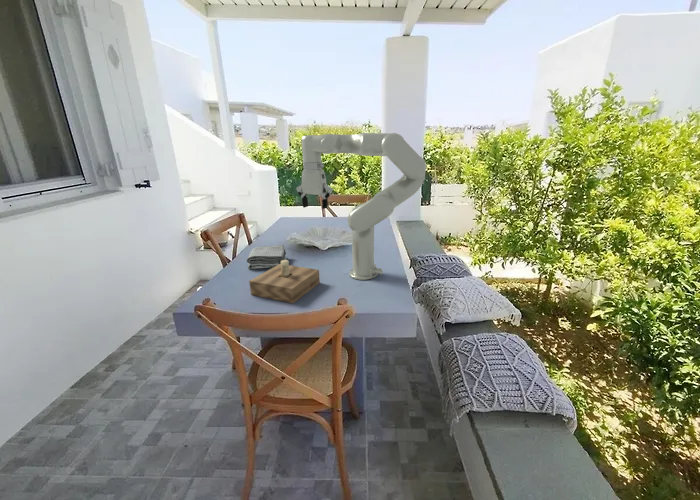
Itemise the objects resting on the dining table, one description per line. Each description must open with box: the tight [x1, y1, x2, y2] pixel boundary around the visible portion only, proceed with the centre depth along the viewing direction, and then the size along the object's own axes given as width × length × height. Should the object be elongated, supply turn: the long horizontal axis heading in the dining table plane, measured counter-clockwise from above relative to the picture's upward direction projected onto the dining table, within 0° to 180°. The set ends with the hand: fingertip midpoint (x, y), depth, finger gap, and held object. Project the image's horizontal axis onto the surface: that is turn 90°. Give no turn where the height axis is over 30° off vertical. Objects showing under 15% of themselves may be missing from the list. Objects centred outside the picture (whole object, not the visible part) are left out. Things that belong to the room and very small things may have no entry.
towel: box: [246, 244, 287, 270], centre depth 161 cm, size 15×18×8 cm
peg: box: [281, 259, 290, 278], centre depth 131 cm, size 3×3×11 cm
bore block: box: [248, 264, 321, 304], centre depth 132 cm, size 20×20×6 cm
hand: (315, 207), depth 139 cm, fingers open, 9 cm apart
